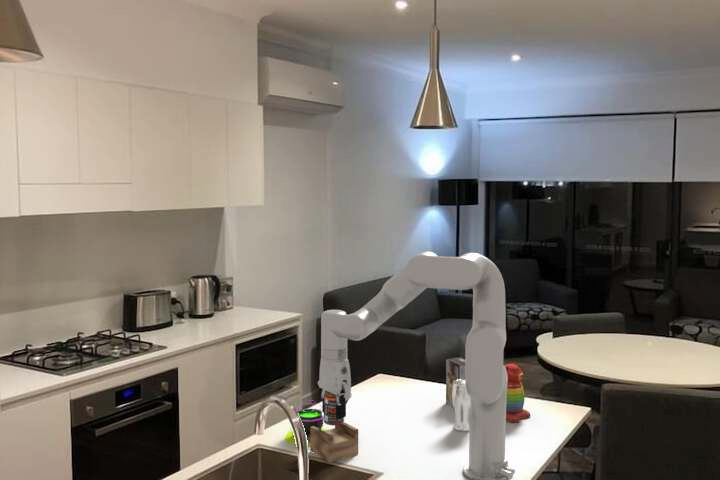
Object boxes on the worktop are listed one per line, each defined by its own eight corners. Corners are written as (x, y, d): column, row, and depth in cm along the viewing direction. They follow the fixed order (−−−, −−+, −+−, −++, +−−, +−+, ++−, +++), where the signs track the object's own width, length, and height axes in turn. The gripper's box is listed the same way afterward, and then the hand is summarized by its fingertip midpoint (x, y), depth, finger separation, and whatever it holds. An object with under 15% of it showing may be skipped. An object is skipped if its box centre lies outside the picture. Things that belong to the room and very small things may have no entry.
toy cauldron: (343, 434, 207) (343, 400, 206) (313, 450, 195) (313, 414, 194) (305, 424, 215) (305, 391, 214) (275, 439, 203) (274, 404, 202)
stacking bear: (513, 424, 216) (515, 370, 215) (488, 415, 224) (489, 364, 222) (532, 416, 223) (534, 364, 222) (507, 408, 231) (509, 358, 229)
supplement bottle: (326, 427, 188) (326, 388, 187) (321, 419, 194) (321, 382, 193) (346, 425, 190) (346, 386, 189) (341, 418, 196) (341, 380, 195)
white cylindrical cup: (473, 433, 208) (474, 386, 207) (451, 431, 210) (451, 385, 208) (474, 425, 215) (475, 379, 214) (452, 423, 216) (453, 378, 215)
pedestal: (358, 454, 192) (358, 429, 191) (329, 462, 186) (329, 437, 185) (338, 443, 200) (338, 419, 199) (310, 451, 194) (310, 426, 193)
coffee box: (474, 408, 231) (475, 363, 230) (459, 410, 229) (459, 365, 227) (459, 400, 240) (460, 356, 238) (444, 402, 237) (445, 358, 235)
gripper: (362, 357, 186) (362, 420, 187) (327, 345, 199) (327, 403, 201) (341, 362, 181) (340, 426, 183) (306, 349, 195) (306, 408, 196)
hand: (334, 413), depth 192 cm, fingers closed on supplement bottle, 6 cm apart
